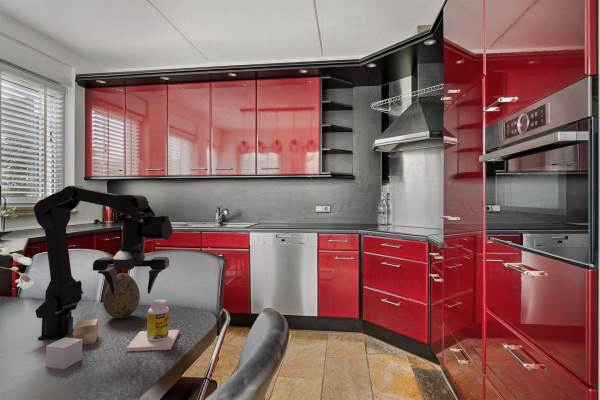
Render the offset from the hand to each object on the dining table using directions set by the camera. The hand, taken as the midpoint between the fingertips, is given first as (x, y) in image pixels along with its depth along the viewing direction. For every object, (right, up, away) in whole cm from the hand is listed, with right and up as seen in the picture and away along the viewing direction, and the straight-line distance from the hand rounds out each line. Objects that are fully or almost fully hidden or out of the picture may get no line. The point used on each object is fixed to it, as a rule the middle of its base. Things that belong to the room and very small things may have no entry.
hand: (131, 293), depth 92 cm
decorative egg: (-12, -13, +17) cm, 25 cm away
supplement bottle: (+8, -12, -1) cm, 15 cm away
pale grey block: (-9, -13, -14) cm, 21 cm away
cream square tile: (+7, -13, -1) cm, 15 cm away
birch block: (-12, -13, -1) cm, 18 cm away
